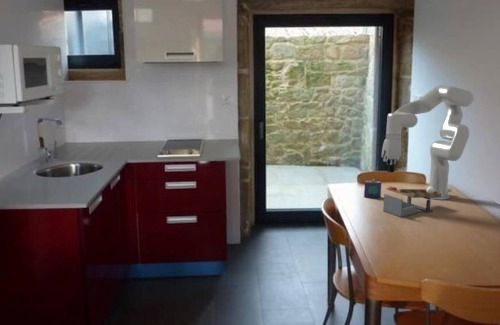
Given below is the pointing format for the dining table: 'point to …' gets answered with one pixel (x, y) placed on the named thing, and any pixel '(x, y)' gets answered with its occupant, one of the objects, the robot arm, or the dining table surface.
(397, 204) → the cup
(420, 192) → the brown flat piece
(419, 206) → the pivot stand
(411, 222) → the dining table surface
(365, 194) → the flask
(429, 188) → the ball
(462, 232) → the dining table surface
